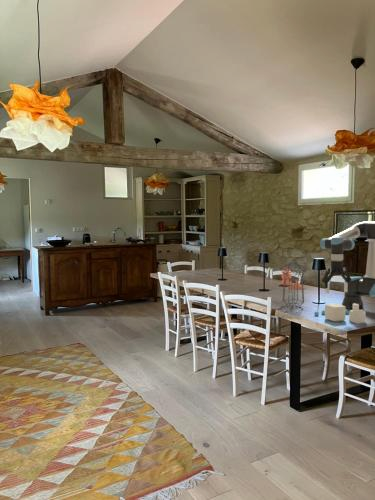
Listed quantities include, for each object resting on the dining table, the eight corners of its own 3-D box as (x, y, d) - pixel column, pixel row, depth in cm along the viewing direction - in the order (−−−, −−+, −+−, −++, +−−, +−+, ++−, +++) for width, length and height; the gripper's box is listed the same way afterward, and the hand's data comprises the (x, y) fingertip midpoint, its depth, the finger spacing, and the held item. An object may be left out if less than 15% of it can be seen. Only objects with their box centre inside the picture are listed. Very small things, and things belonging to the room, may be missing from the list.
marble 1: (319, 312, 269) (319, 315, 270) (316, 310, 272) (316, 313, 273) (316, 313, 268) (316, 317, 269) (313, 311, 270) (313, 315, 271)
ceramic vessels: (312, 291, 366) (313, 271, 364) (292, 292, 360) (293, 272, 358) (292, 285, 399) (293, 267, 398) (274, 286, 393) (274, 267, 392)
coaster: (338, 318, 264) (338, 316, 264) (347, 321, 254) (347, 320, 254) (324, 318, 261) (324, 317, 261) (333, 322, 252) (333, 321, 252)
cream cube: (335, 316, 264) (336, 303, 263) (345, 319, 256) (345, 306, 255) (324, 317, 261) (325, 304, 260) (334, 321, 253) (334, 307, 252)
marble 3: (345, 315, 274) (345, 312, 276) (349, 315, 272) (349, 311, 274) (343, 313, 272) (343, 309, 274) (348, 312, 271) (348, 309, 273)
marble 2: (326, 310, 272) (321, 311, 272) (326, 314, 272) (322, 315, 272) (324, 309, 275) (320, 310, 275) (325, 313, 275) (321, 314, 275)
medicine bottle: (356, 320, 258) (357, 302, 257) (365, 322, 252) (366, 304, 251) (348, 321, 256) (349, 303, 255) (357, 323, 249) (357, 305, 248)
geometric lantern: (289, 310, 287) (290, 263, 285) (278, 306, 302) (279, 261, 300) (308, 309, 291) (309, 262, 289) (296, 304, 306) (297, 260, 304)
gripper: (350, 259, 261) (349, 290, 263) (316, 260, 256) (316, 292, 257) (357, 260, 254) (356, 292, 255) (322, 261, 248) (322, 294, 250)
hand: (336, 292), depth 256 cm, fingers open, 13 cm apart
